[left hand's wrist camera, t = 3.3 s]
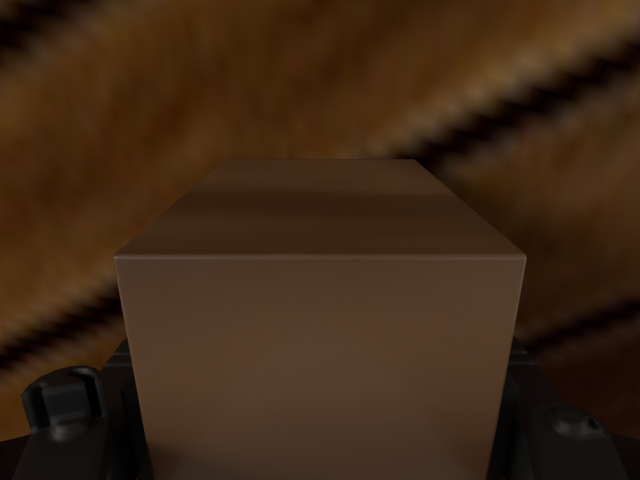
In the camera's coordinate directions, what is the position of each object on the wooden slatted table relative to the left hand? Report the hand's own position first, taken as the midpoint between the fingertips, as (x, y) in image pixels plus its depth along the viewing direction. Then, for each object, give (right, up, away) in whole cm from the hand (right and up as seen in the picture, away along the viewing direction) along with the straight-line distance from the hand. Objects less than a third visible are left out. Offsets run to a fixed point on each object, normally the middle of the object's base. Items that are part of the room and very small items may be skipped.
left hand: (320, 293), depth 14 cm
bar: (0, -7, +3) cm, 8 cm away
